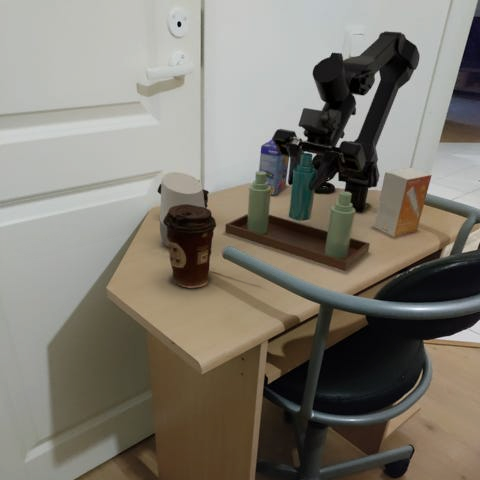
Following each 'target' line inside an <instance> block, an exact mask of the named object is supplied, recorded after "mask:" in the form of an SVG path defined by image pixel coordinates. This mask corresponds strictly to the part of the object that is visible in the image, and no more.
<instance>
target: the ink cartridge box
mask: <svg viewBox="0 0 480 480" xmlns="http://www.w3.org/2000/svg"><path fill="white" fill-rule="evenodd" d="M289 163H290V157H287V156H283V155H281V154H280V153H279V151H278V150H277V148H276V146H275V144H274V142H273V140H272V139H270V140H269V141H267V142H265V143H263V144H262V145H261V146H260V155H259V166H258V171H262V172H266V181H267V182H268V186H270V187H271V196H276V195H277V194H278V193H279V192H281V191H282V190H283V189H284V188H286V184H287V179H288V178H287V177H288V171H289V170H288V169H289Z"/></svg>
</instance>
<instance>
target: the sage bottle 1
mask: <svg viewBox="0 0 480 480" xmlns="http://www.w3.org/2000/svg"><path fill="white" fill-rule="evenodd" d="M271 196H272V195H271V187H270V186H268V182H267V181H266V172H262V171H259V170H258V171H256V172H255V180H253V181H252V184H250V185H249V186H248V200H247V201H248V202H247V214H248V219H247V230H249V231H253V232H256V233H259V234H263V233H266V232H267V231H268V223H269V215H270V211H271V210H270V208H271Z"/></svg>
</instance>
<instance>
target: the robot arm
mask: <svg viewBox="0 0 480 480" xmlns="http://www.w3.org/2000/svg"><path fill="white" fill-rule="evenodd" d="M419 62H420V52H419V49H418V47H417V45H416V44H414V43H413V42H412V41H411V40H409V39H407V38H406V35H405V34H404V33H403V32H400V31H388V30H387V31H384V32H380V33H379V35H378V38H377V39H376V40H374V41H373V42H372V44H370V46H368V47H367V48H365V50H364V51H363V52H361V54H359V55H358V56H354V57H348V58H345V59H344V56H343V53H341V52H331V54H330V55H329V57H326V58H323V59H322V60H320V61H319V62H317V64H315V65H314V66H313V69H312V77H313V81H314V84H315V87H316V89H317V92H318V95H319V98H320V100H321V101H322V102H324V105H323V107H322V109H321V110H320V109H313V108H307V107H304V108H302V111H301V115H300V118H299V122H298V127H299V128H302V129H303V135H304V137H305V138H306V140H303V139H302V138H301V137H298V136H297V134H296V131H294V130H291V129H290V130H288V129H283V128H278V129H276V130H275V131H274V132H273V136H272V138H271V140H273V142H274V144H275V146H276V148H277V150H278V151H279V153H280V154H281V155H283V156H287V157H289V167H288V169H289V170H288V175H287V177H288V178H287V184H288V186H292V177H293V169H294V168H297V164H299V163H300V160H301V154H302V153H310V154H315V155H316V154H319V155H324V157H323V161H322V163H321V165H320V167H319V169H318V171H317V173H316V175H315V177H314V179H313V180H312V183H311V185H310V190H311V191H313V190H314V189H316V188H317V187H318V186H319V185H321V184H322V183H323V182H324V181H326V180H327V179H329V178H330V177H332V176H333V175H335V174H336V175H337V178H338V182H343V183H345V185H344V191H343V192H350V193H351V194H352V195H351V201H350V203H352V205H353V206H352V207H353V208H354V209H355V212H357V213H364V212H365V210H366V209H368V208H369V207H370V205H371V204H370V203H369V202H367V198H368V194H369V189H371V188H377V186H378V182H379V181H380V171H379V167H378V161H379V158H378V151H377V146H378V143H379V140H380V137H381V136H382V133H383V130H384V127H385V125H386V122H387V120H388V117H389V115H390V112H391V110H392V107H393V105H394V102H395V99H396V97H397V94H398V91H399V90H400V88H402V87H403V86H404V85H406V84H407V83H408V82H409V81H410V80H411V78H412V76H413V74H414V71H415V70H416V69H417V68H418V66H419V64H420V63H419ZM378 72H379V77H380V80H379V83H378V85H377V88H376V91H375V93H374V96H373V98H372V101H371V103H370V106H369V108H368V111H367V114H366V115H365V119H364V121H363V124H362V126H361V128H360V131H359V134H358V136H357V138H356V139H355V140H354V141H352V140H343V139H344V137H345V129H346V127H347V125H348V123H349V122H348V121H349V120H350V118H351V116H356V114H357V107H356V106H357V101H356V100H357V99H356V97H355V95H356V96H362V97H363V96H366V95H367V94H368V93H369V92H370V90H372V88H373V86H374V84H375V81H376V74H377V73H378ZM340 139H342V140H343V141H340ZM339 141H340V144H339V145H338V143H339ZM337 145H338V146H337ZM336 175H335V176H336Z"/></svg>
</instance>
